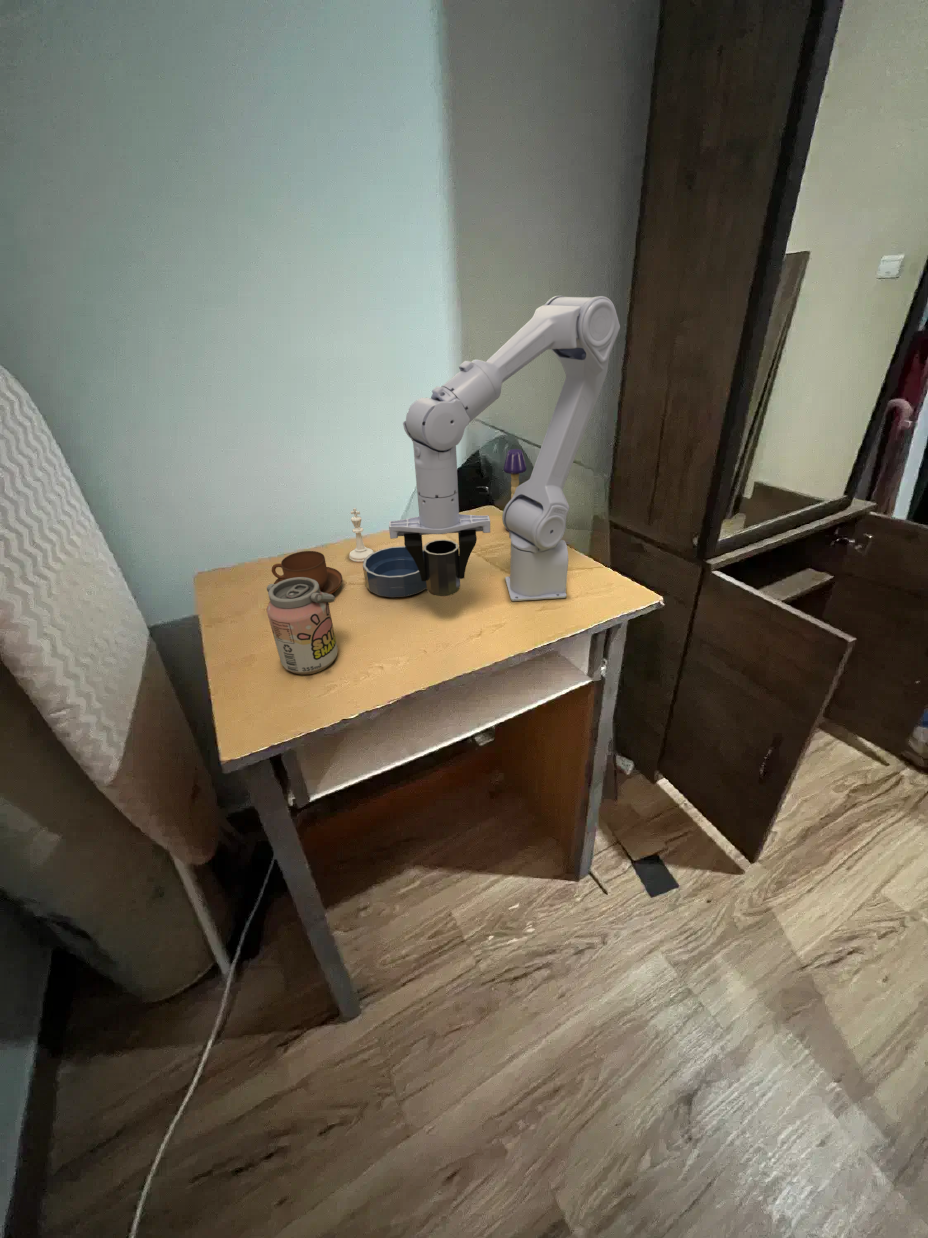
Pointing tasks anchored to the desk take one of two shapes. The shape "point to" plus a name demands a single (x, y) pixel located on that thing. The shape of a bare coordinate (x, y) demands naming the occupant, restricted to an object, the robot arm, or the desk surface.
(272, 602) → the beverage can
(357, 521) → the chess piece
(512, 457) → the toy lamp
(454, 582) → the cup
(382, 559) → the bowl
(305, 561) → the cup and saucer
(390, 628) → the desk surface
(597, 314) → the robot arm
